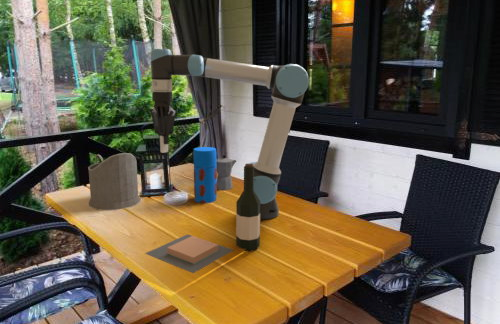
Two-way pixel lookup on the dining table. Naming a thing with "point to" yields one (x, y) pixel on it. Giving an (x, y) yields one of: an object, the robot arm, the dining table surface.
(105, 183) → the pitcher
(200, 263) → the mat
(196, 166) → the thermos
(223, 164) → the coffeepot
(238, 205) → the wine bottle
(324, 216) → the dining table surface
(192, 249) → the tile
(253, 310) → the dining table surface
